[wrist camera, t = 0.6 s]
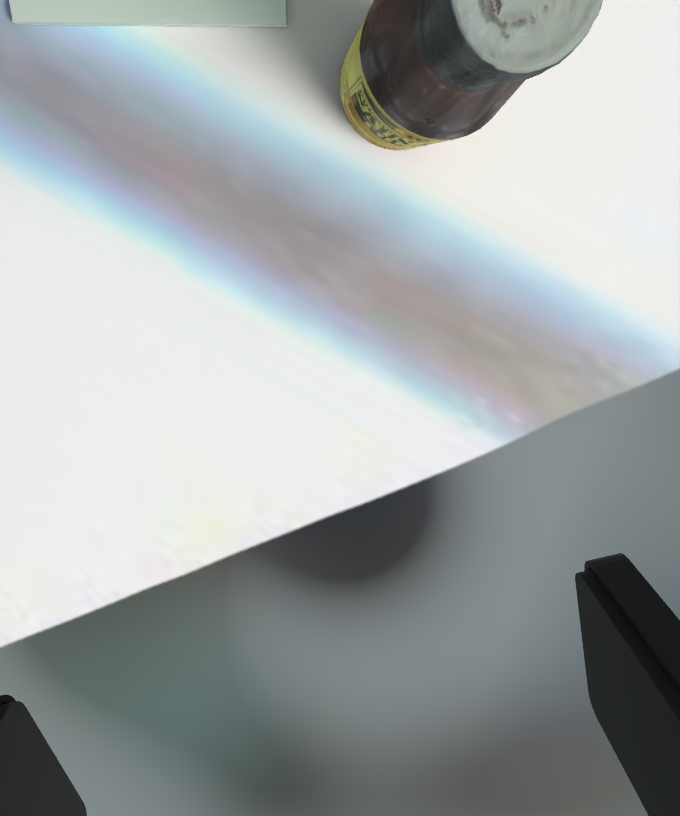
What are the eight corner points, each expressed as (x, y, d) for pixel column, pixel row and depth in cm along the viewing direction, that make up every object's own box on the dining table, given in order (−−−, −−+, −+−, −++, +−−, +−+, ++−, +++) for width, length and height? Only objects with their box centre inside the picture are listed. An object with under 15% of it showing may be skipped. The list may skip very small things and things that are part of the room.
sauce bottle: (326, 134, 33) (345, 79, 15) (354, 8, 31) (419, -239, 13) (435, 166, 34) (583, 151, 16) (470, 46, 32) (690, -136, 14)
